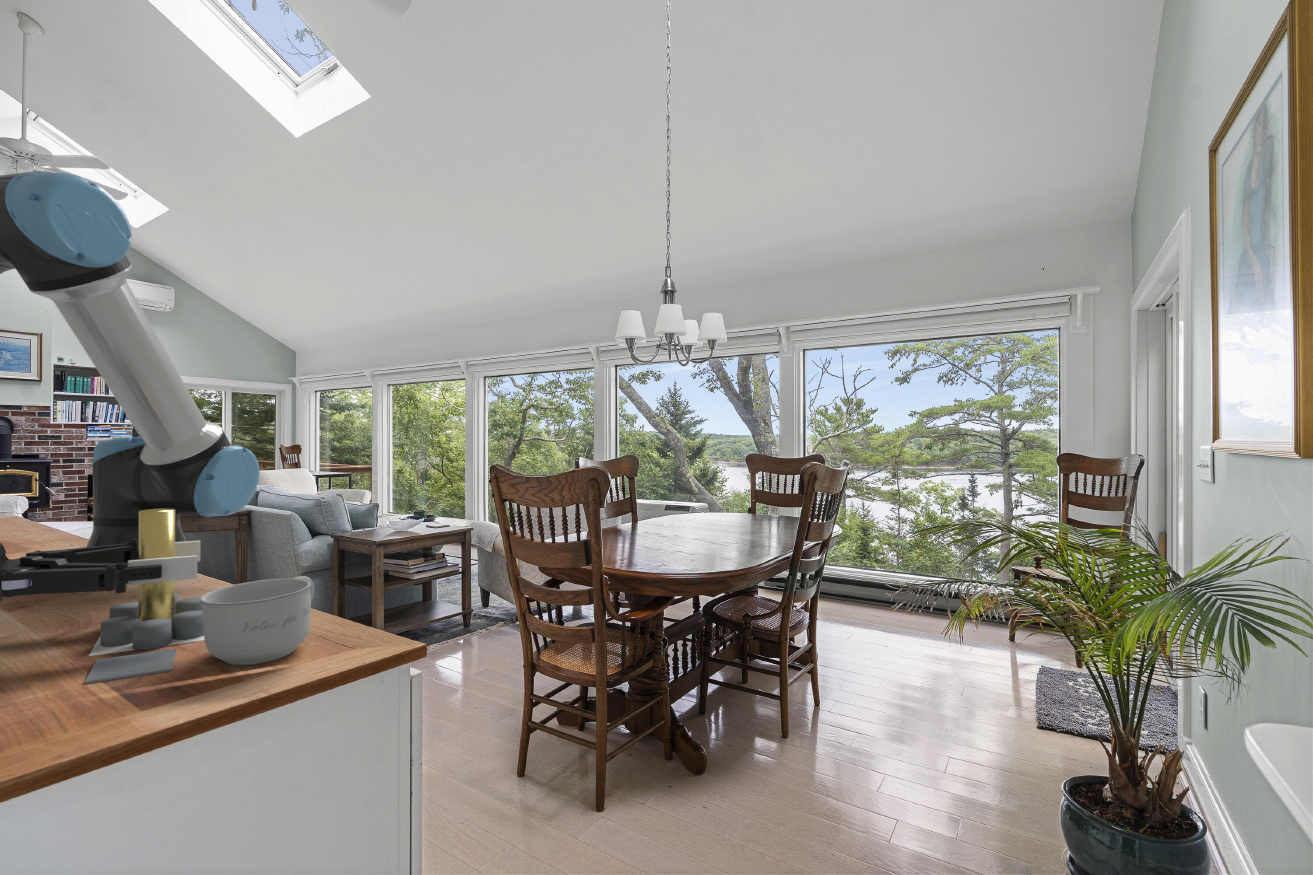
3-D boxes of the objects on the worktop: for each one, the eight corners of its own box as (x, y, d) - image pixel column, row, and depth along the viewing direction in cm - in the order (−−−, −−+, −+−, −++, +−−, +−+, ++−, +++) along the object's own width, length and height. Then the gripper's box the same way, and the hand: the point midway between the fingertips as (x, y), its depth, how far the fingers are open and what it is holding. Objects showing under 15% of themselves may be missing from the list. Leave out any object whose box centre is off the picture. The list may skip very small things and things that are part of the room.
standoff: (140, 628, 82) (140, 509, 81) (175, 624, 84) (176, 507, 83) (136, 636, 79) (137, 513, 78) (173, 632, 81) (174, 511, 80)
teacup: (247, 681, 68) (248, 604, 67) (175, 665, 71) (176, 592, 71) (352, 640, 81) (353, 576, 80) (287, 628, 84) (288, 567, 84)
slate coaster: (96, 664, 71) (96, 659, 71) (176, 653, 75) (176, 648, 75) (85, 687, 65) (85, 681, 65) (172, 673, 69) (172, 668, 69)
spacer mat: (110, 620, 86) (110, 598, 86) (211, 608, 92) (211, 588, 92) (87, 661, 72) (87, 635, 72) (208, 644, 78) (208, 620, 78)
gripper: (-17, 588, 81) (201, 569, 93) (-93, 642, 62) (194, 610, 74) (-18, 528, 81) (201, 517, 93) (-93, 564, 62) (195, 544, 74)
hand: (198, 558), depth 83 cm, fingers open, 10 cm apart
